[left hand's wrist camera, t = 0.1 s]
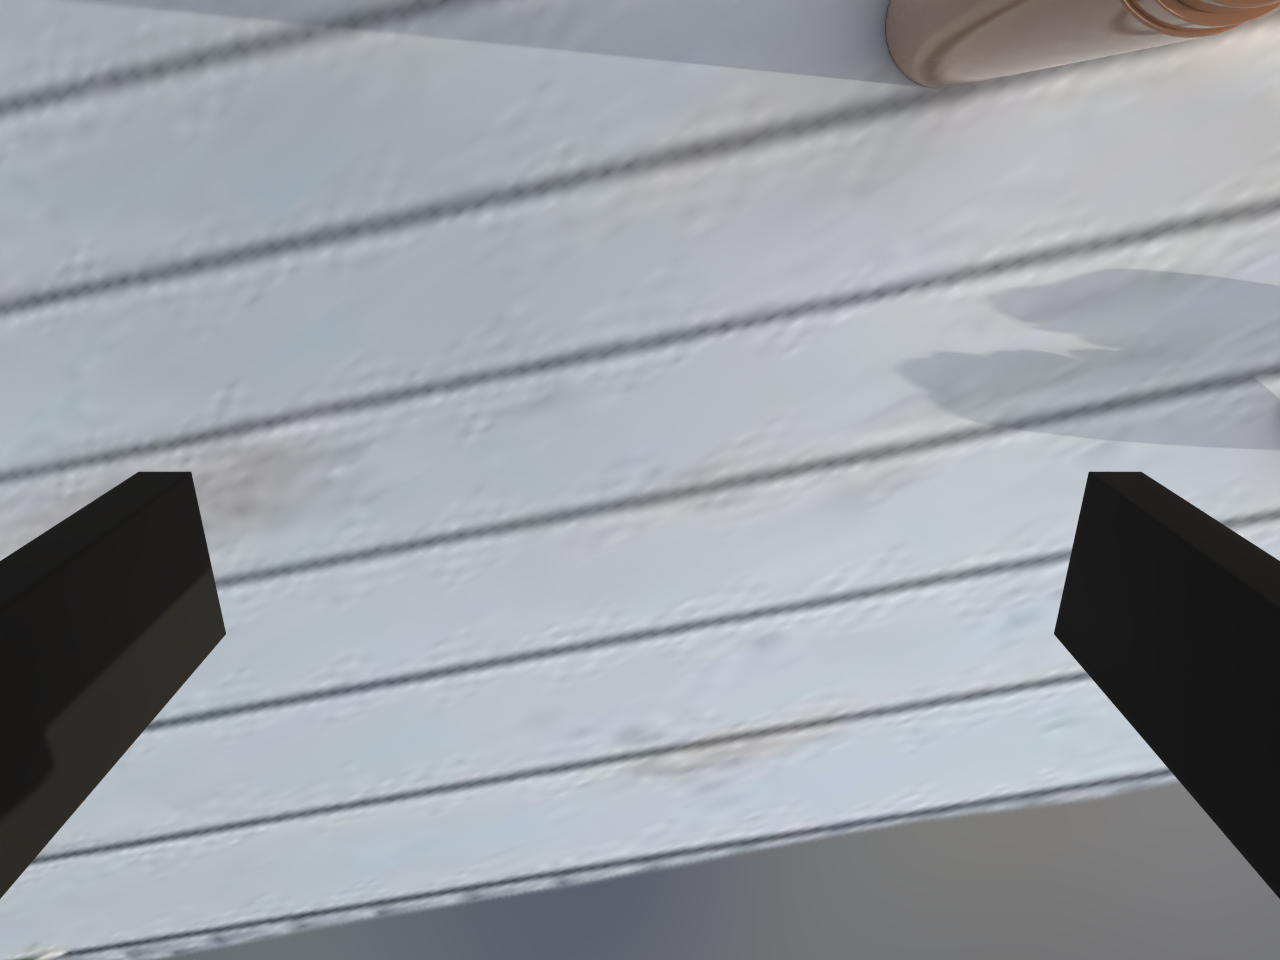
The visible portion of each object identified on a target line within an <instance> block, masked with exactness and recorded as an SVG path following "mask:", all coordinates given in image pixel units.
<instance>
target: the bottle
mask: <svg viewBox="0 0 1280 960" xmlns="http://www.w3.org/2000/svg"><path fill="white" fill-rule="evenodd" d="M1279 7H1280V0H891V1H890V4H889V7H888V12H887V18H886V38H887V43H888V47H889V50H890V54H891V56H892V58H893V60H894V62H895V63H896V65H897V66H898V68H899V69H900V70H901V71H902V72H903V74H905V75H906V76H907V77H908V78H909V79H911V80H913V81H914V82H916V83H918V84H920V85H923V86H927V87H931V88H948V87H954V86H959V85H964V84H969V83H974V82H979V81H984V80H989V79H994V78H999V77H1004V76H1009V75H1014V74H1019V73H1024V72H1030V71H1035V70H1040V69H1045V68H1050V67H1055V66H1060V65H1065V64H1070V63H1075V62H1080V61H1085V60H1090V59H1095V58H1100V57H1106V56H1111V55H1116V54H1121V53H1126V52H1131V51H1136V50H1141V49H1146V48H1151V47H1156V46H1161V45H1166V44H1171V43H1176V42H1181V41H1187V40H1192V39H1197V38H1202V37H1207V36H1212V35H1217V34H1220V33H1223V32H1226V31H1229V30H1232V29H1234V28H1236V27H1238V26H1241V25H1243V24H1245V23H1247V22H1249V21H1251V20H1254V19H1257V18H1259V17H1262V16H1264V15H1266V14H1268V13H1270V12H1272V11H1274V10H1275V9H1277V8H1279Z"/></svg>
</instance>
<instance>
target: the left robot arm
mask: <svg viewBox="0 0 1280 960" xmlns="http://www.w3.org/2000/svg"><path fill="white" fill-rule="evenodd" d="M225 635H226V632H225V627H224V622H223V618H222V613H221V608H220V604H219V599H218V594H217V590H216V585H215V580H214V576H213V571H212V567H211V562H210V557H209V553H208V548H207V543H206V539H205V534H204V529H203V525H202V520H201V515H200V511H199V506H198V502H197V497H196V492H195V488H194V483H193V478H192V474H191V472H138V473H136V474H135V475H133V476H132V477H130V478H128V479H127V480H125V481H124V482H122V483H121V484H119V485H118V486H116V487H114V488H113V489H111V490H110V491H108V492H107V493H105V494H104V495H102V496H101V497H99V498H97V499H96V500H94V501H93V502H91V503H90V504H88V505H87V506H85V507H83V508H82V509H80V510H79V511H77V512H76V513H74V514H73V515H71V516H70V517H68V518H66V519H65V520H63V521H62V522H60V523H59V524H57V525H56V526H54V527H52V528H51V529H49V530H48V531H46V532H45V533H43V534H42V535H40V536H39V537H37V538H35V539H34V540H32V541H31V542H29V543H28V544H26V545H25V546H23V547H21V548H20V549H18V550H17V551H15V552H14V553H12V554H11V555H9V556H8V557H6V558H4V559H3V560H1V561H0V899H1V897H2V896H3V895H4V894H5V893H6V891H7V890H8V889H9V888H10V887H11V886H12V884H13V883H14V882H15V881H16V880H17V879H18V877H19V876H20V875H21V874H22V873H23V872H24V870H25V869H26V868H27V867H28V866H29V864H30V863H31V862H32V861H33V860H34V859H35V857H36V856H37V855H38V854H39V853H40V852H41V850H42V849H43V848H44V847H45V846H46V845H47V843H48V842H49V841H50V840H51V839H52V838H53V836H54V835H55V834H56V833H57V832H58V830H59V829H60V828H61V827H62V826H63V825H64V823H65V822H66V821H67V820H68V819H69V818H70V816H71V815H72V814H73V813H74V812H75V811H76V809H77V808H78V807H79V806H80V805H81V803H82V802H83V801H84V800H85V799H86V798H87V796H88V795H89V794H90V793H91V792H92V791H93V789H94V788H95V787H96V786H97V785H98V784H99V782H100V781H101V780H102V779H103V778H104V777H105V775H106V774H107V773H108V772H109V771H110V769H111V768H112V767H113V766H114V765H115V764H116V762H117V761H118V760H119V759H120V758H121V757H122V755H123V754H124V753H125V752H126V751H127V750H128V748H129V747H130V746H131V745H132V744H133V742H134V741H135V740H136V739H137V738H138V737H139V735H140V734H141V733H142V732H143V731H144V730H145V728H146V727H147V726H148V725H149V724H150V723H151V721H152V720H153V719H154V718H155V717H156V716H157V714H158V713H159V712H160V711H161V710H162V708H163V707H164V706H165V705H166V704H167V703H168V701H169V700H170V699H171V698H172V697H173V696H174V694H175V693H176V692H177V691H178V690H179V689H180V687H181V686H182V685H183V684H184V683H185V682H186V680H187V679H188V678H189V677H190V676H191V674H192V673H193V672H194V671H195V670H196V669H197V667H198V666H199V665H200V664H201V663H202V662H203V660H204V659H205V658H206V657H207V656H208V655H209V653H210V652H211V651H212V650H213V649H214V647H215V646H216V645H217V644H218V643H219V642H220V640H221V639H222V638H223V637H224V636H225ZM1054 635H1055V636H1056V637H1057V638H1058V639H1059V640H1060V642H1061V643H1062V644H1063V645H1064V646H1065V647H1066V649H1067V650H1068V651H1069V652H1070V653H1071V655H1072V656H1073V657H1074V658H1075V659H1076V660H1077V662H1078V663H1079V664H1080V665H1081V666H1082V667H1083V669H1084V670H1085V671H1086V672H1087V673H1088V674H1089V676H1090V677H1091V678H1092V679H1093V680H1094V682H1095V683H1096V684H1097V685H1098V686H1099V687H1100V689H1101V690H1102V691H1103V692H1104V693H1105V694H1106V696H1107V697H1108V698H1109V699H1110V700H1111V701H1112V703H1113V704H1114V705H1115V706H1116V707H1117V708H1118V710H1119V711H1120V712H1121V713H1122V714H1123V716H1124V717H1125V718H1126V719H1127V720H1128V721H1129V723H1130V724H1131V725H1132V726H1133V727H1134V728H1135V730H1136V731H1137V732H1138V733H1139V734H1140V735H1141V737H1142V738H1143V739H1144V740H1145V741H1146V743H1147V744H1148V745H1149V746H1150V747H1151V748H1152V750H1153V751H1154V752H1155V753H1156V754H1157V755H1158V757H1159V758H1160V759H1161V760H1162V761H1163V762H1164V764H1165V765H1166V766H1167V767H1168V768H1169V769H1170V771H1171V772H1172V773H1173V774H1174V775H1175V777H1176V778H1177V779H1178V780H1179V781H1180V782H1181V784H1182V785H1183V786H1184V787H1185V788H1186V789H1187V791H1188V792H1189V793H1190V794H1191V795H1192V796H1193V798H1194V799H1195V800H1196V801H1197V802H1198V803H1199V805H1200V806H1201V807H1202V808H1203V809H1204V811H1205V812H1206V813H1207V814H1208V815H1209V816H1210V818H1211V819H1212V820H1213V821H1214V822H1215V823H1216V825H1217V826H1218V827H1219V828H1220V829H1221V830H1222V832H1223V833H1224V834H1225V835H1226V836H1227V837H1228V839H1229V840H1230V841H1231V842H1232V843H1233V845H1234V846H1235V847H1236V848H1237V849H1238V850H1239V852H1240V853H1241V854H1242V855H1243V856H1244V857H1245V859H1246V860H1247V861H1248V862H1249V863H1250V864H1251V866H1252V867H1253V868H1254V869H1255V870H1256V872H1257V873H1258V874H1259V875H1260V876H1261V877H1262V879H1263V880H1264V881H1265V882H1266V883H1267V884H1268V886H1269V887H1270V888H1271V889H1272V890H1273V891H1274V893H1275V894H1276V895H1277V896H1278V897H1279V898H1280V561H1279V560H1277V559H1276V558H1274V557H1272V556H1271V555H1269V554H1268V553H1266V552H1265V551H1263V550H1262V549H1260V548H1259V547H1257V546H1255V545H1254V544H1252V543H1251V542H1249V541H1248V540H1246V539H1245V538H1243V537H1241V536H1240V535H1238V534H1237V533H1235V532H1234V531H1232V530H1231V529H1229V528H1228V527H1226V526H1224V525H1223V524H1221V523H1220V522H1218V521H1217V520H1215V519H1214V518H1212V517H1210V516H1209V515H1207V514H1206V513H1204V512H1203V511H1201V510H1200V509H1198V508H1197V507H1195V506H1193V505H1192V504H1190V503H1189V502H1187V501H1186V500H1184V499H1183V498H1181V497H1179V496H1178V495H1176V494H1175V493H1173V492H1172V491H1170V490H1169V489H1167V488H1166V487H1164V486H1162V485H1161V484H1159V483H1158V482H1156V481H1155V480H1153V479H1152V478H1150V477H1148V476H1147V475H1145V474H1144V473H1142V472H1089V474H1088V478H1087V483H1086V488H1085V492H1084V497H1083V501H1082V506H1081V511H1080V515H1079V520H1078V525H1077V529H1076V534H1075V539H1074V543H1073V548H1072V553H1071V557H1070V562H1069V567H1068V571H1067V576H1066V580H1065V585H1064V590H1063V594H1062V599H1061V604H1060V608H1059V613H1058V618H1057V622H1056V627H1055V632H1054Z"/></svg>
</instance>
